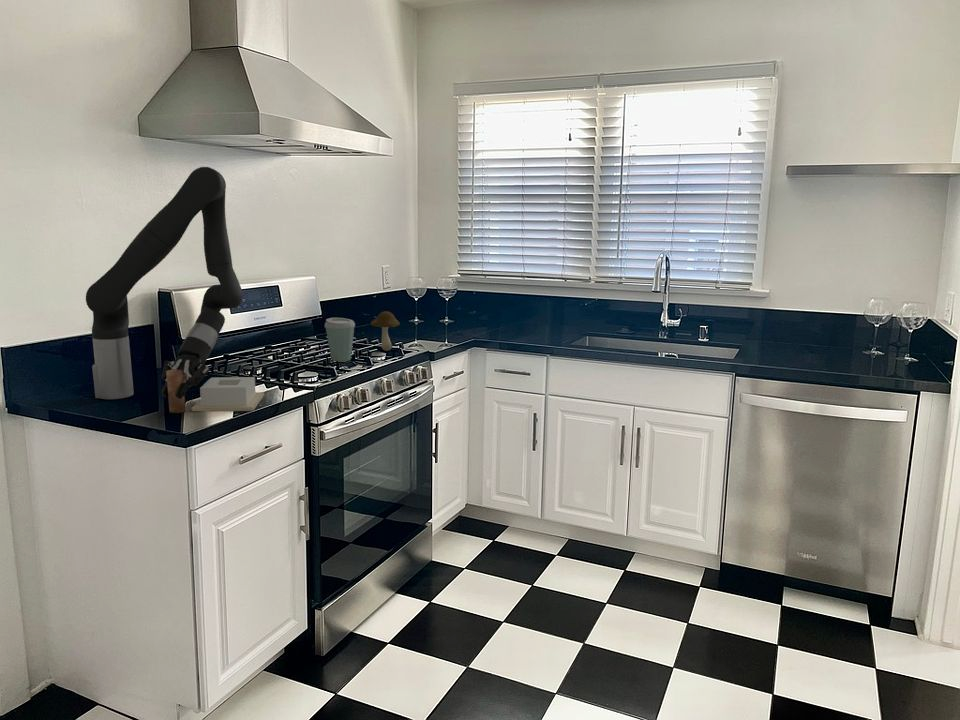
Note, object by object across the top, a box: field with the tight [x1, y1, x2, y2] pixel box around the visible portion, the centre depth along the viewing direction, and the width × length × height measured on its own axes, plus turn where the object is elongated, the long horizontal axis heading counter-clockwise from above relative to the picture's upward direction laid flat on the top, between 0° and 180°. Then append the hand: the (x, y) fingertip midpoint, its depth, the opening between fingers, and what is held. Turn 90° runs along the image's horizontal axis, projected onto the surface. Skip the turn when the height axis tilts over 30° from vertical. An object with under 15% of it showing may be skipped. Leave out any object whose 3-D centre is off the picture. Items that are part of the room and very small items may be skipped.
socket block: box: [191, 376, 265, 412], centre depth 209 cm, size 16×16×6 cm
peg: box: [166, 369, 186, 414], centre depth 201 cm, size 4×4×11 cm
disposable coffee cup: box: [324, 317, 356, 363], centre depth 263 cm, size 11×11×15 cm
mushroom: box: [370, 310, 401, 352], centre depth 282 cm, size 9×11×15 cm
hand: (171, 396), depth 199 cm, fingers closed on peg, 4 cm apart
